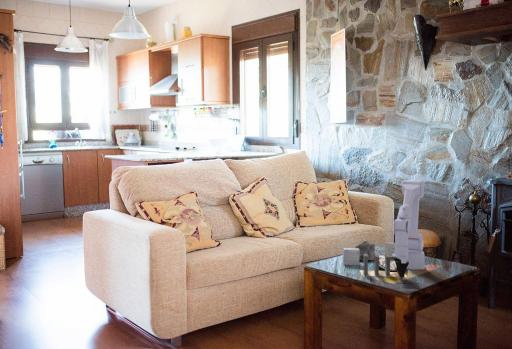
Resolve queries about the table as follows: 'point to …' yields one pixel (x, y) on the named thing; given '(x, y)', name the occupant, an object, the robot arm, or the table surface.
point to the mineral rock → (366, 250)
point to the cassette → (389, 248)
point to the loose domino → (400, 277)
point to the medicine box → (351, 256)
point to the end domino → (365, 264)
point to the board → (380, 273)
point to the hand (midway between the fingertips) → (400, 274)
